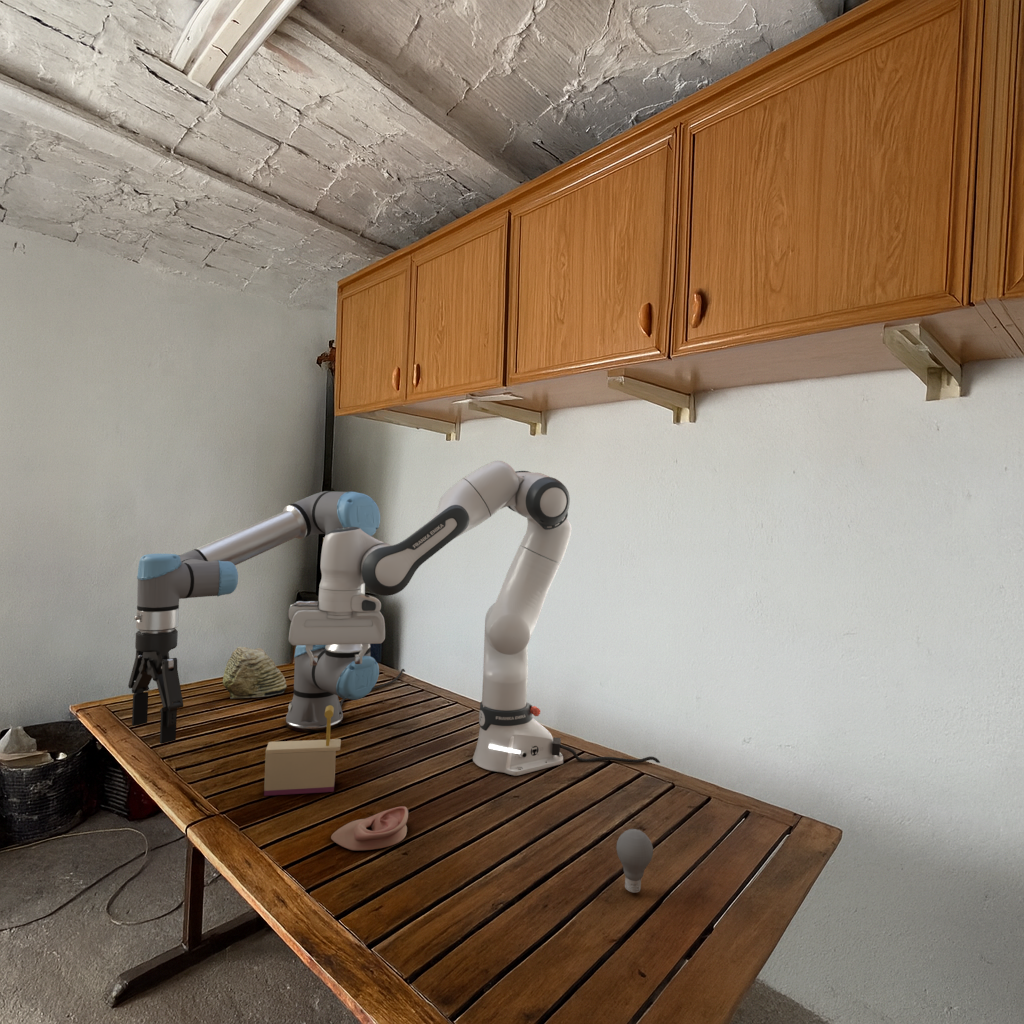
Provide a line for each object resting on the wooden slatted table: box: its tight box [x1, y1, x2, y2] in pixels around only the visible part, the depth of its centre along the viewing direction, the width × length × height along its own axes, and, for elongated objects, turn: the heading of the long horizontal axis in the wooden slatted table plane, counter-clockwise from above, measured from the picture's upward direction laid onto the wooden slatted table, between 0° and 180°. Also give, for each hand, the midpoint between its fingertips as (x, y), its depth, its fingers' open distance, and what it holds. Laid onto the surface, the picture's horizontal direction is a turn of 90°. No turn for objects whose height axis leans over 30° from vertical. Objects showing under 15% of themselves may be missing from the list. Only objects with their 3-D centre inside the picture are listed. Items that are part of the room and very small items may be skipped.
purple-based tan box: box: [263, 751, 337, 797], centre depth 137 cm, size 14×5×9 cm, turn 103°
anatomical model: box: [330, 805, 409, 852], centre depth 119 cm, size 13×4×12 cm
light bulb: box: [615, 828, 654, 894], centre depth 106 cm, size 6×6×10 cm
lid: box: [265, 705, 342, 755], centre depth 137 cm, size 15×4×9 cm, turn 103°
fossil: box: [222, 646, 288, 699], centre depth 198 cm, size 9×18×15 cm, turn 132°
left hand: (153, 732), depth 130 cm, fingers open, 13 cm apart
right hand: (336, 664), depth 138 cm, fingers open, 8 cm apart
